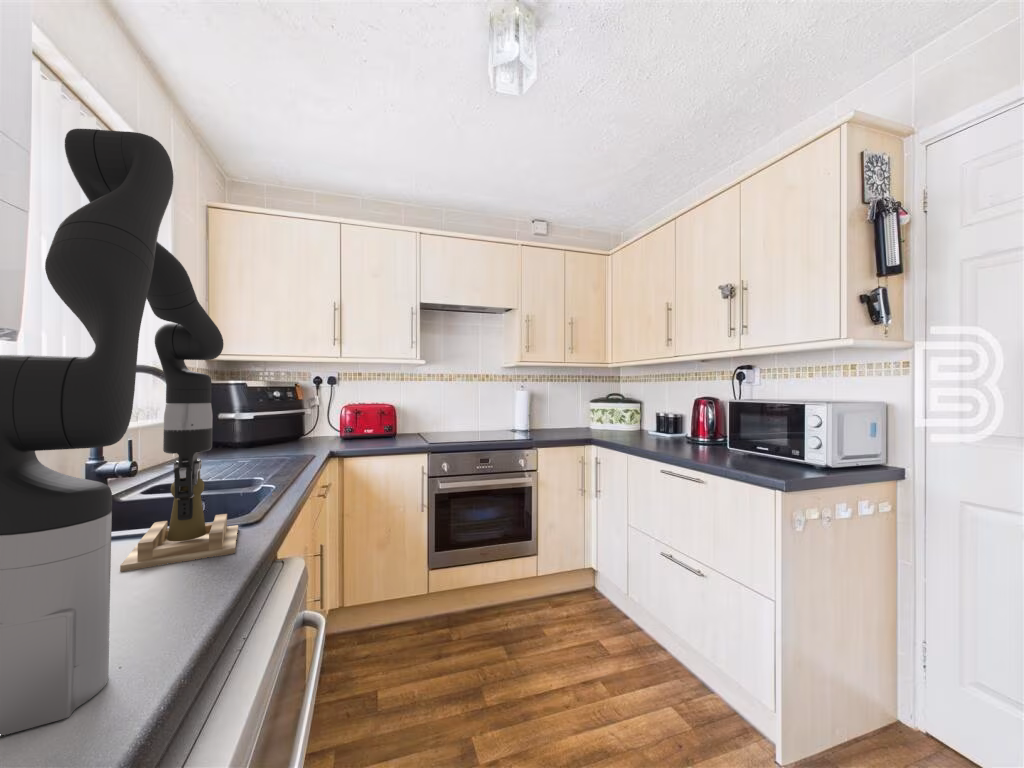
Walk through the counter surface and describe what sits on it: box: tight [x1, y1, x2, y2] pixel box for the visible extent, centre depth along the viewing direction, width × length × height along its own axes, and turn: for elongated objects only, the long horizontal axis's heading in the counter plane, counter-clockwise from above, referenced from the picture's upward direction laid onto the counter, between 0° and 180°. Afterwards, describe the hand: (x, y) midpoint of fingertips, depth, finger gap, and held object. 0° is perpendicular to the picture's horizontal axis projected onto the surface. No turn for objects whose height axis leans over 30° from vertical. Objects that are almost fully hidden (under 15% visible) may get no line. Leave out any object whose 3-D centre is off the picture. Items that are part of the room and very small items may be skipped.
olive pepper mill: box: [167, 478, 206, 541], centre depth 82 cm, size 6×6×11 cm
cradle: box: [119, 513, 239, 573], centre depth 82 cm, size 16×16×4 cm
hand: (187, 515), depth 82 cm, fingers closed on olive pepper mill, 4 cm apart
